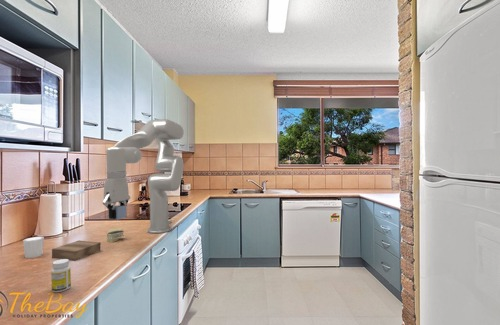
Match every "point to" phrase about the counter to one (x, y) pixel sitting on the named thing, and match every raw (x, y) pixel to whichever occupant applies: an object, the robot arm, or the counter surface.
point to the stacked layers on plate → (114, 234)
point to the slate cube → (120, 212)
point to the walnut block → (76, 250)
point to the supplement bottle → (61, 275)
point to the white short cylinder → (33, 247)
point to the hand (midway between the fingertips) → (117, 216)
